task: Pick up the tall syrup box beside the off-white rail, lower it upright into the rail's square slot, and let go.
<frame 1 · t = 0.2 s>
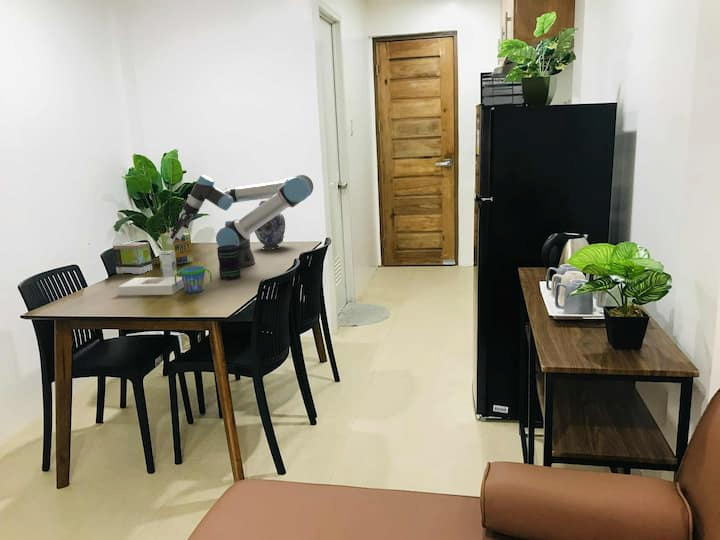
hand: (173, 240, 297), 16 cm above the table, tool tilted 35°, fingers open, 13 cm apart
tea box: (134, 272, 305), on the table
decorative vase: (271, 248, 353), on the table
storage jar: (230, 278, 282), on the table
protein box: (178, 262, 326), on the table
snack cup: (194, 291, 261), on the table
slotted rail: (153, 290, 266), on the table
syrup box: (170, 281, 281), on the table
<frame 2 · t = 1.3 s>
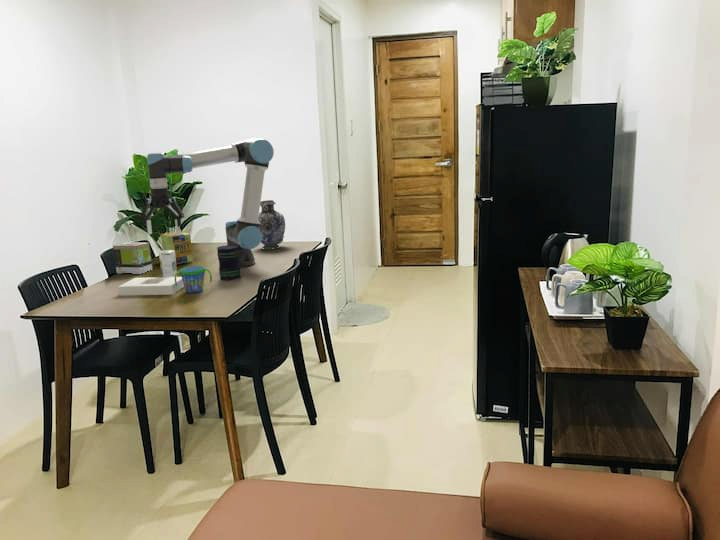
hand: (164, 233, 276), 23 cm above the table, tool pointing down, fingers open, 13 cm apart
nothing on the table moved.
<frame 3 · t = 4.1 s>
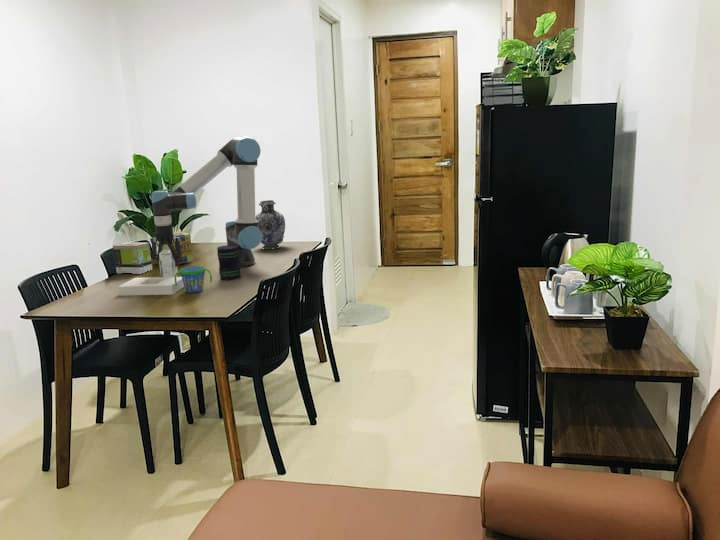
hand: (169, 273, 280), 4 cm above the table, tool pointing down, fingers closed on syrup box, 6 cm apart
syrup box: (170, 281, 281), on the table, touching gripper
everything else where it was.
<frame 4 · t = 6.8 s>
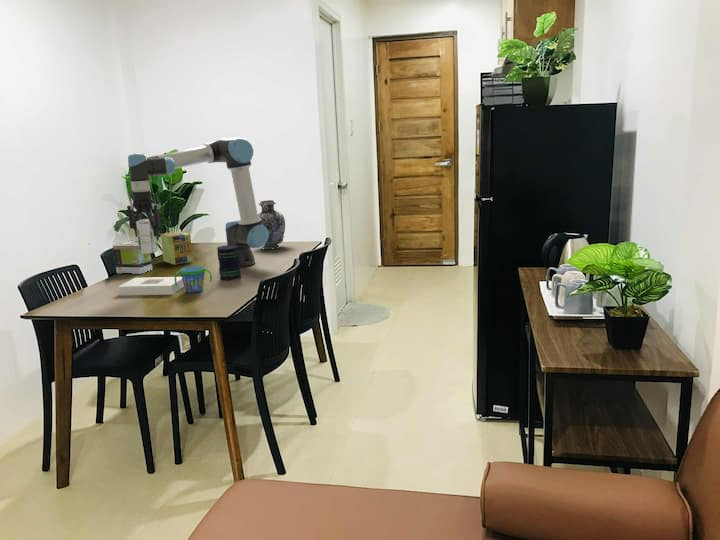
hand: (147, 243, 261), 21 cm above the table, tool pointing down, fingers closed on syrup box, 6 cm apart
syrup box: (149, 253, 262), point 17 cm above the table, touching gripper
everything else where it was.
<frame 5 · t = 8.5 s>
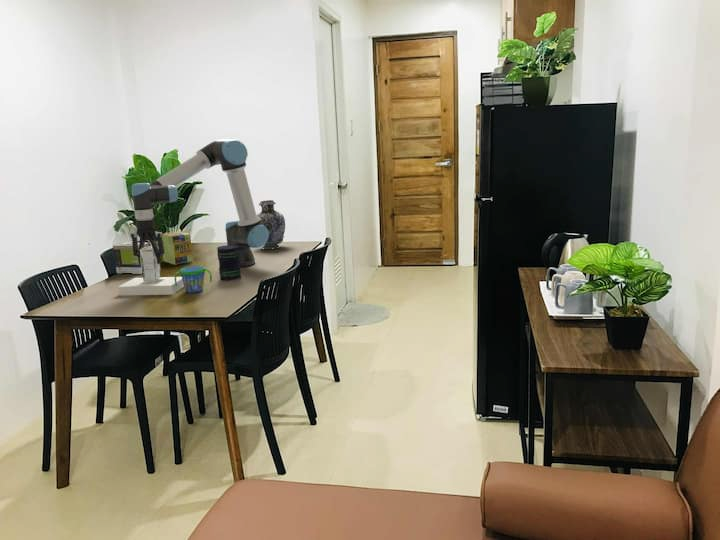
hand: (151, 270, 264), 9 cm above the table, tool pointing down, fingers closed on syrup box, 6 cm apart
syrup box: (152, 279, 265), point 5 cm above the table, touching gripper
everything else where it was.
when the fingers open (5 cm above the table, at t = 9.8 s): syrup box drops 1 cm, resting in slotted rail.
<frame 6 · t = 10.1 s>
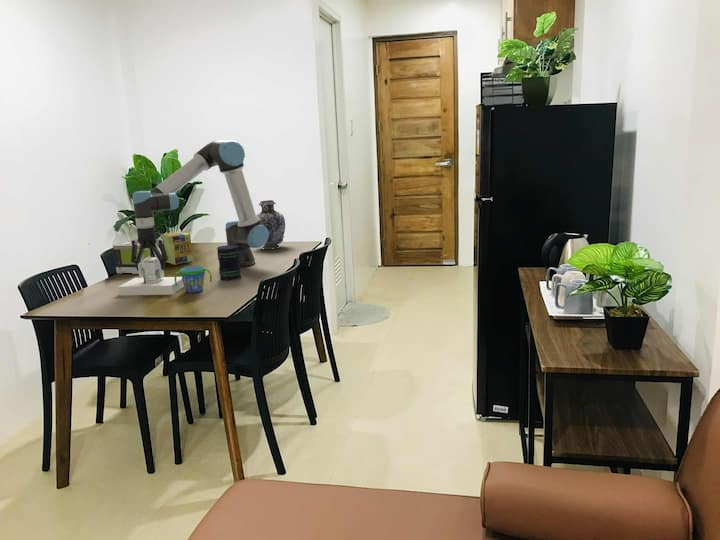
hand: (152, 277, 264), 6 cm above the table, tool pointing down, fingers open, 9 cm apart
syrup box: (154, 290, 266), resting in slotted rail
everything else where it was.
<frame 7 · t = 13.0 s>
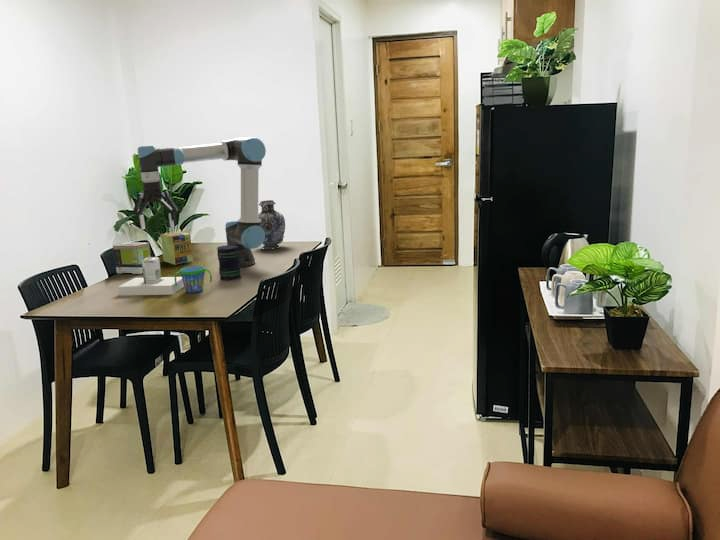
hand: (158, 228, 270), 26 cm above the table, tool pointing down, fingers open, 13 cm apart
nothing on the table moved.
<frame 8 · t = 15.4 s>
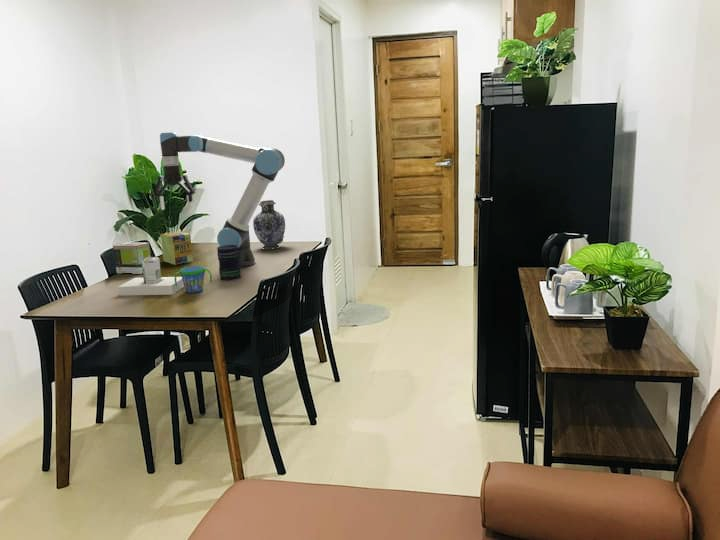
hand: (176, 209, 293), 32 cm above the table, tool pointing down, fingers open, 13 cm apart
nothing on the table moved.
at the end: syrup box 0.2 cm off-centre on the slotted rail, point 0.0 cm above the slotted rail's base; syrup box tilted 0°; the gripper is holding nothing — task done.
